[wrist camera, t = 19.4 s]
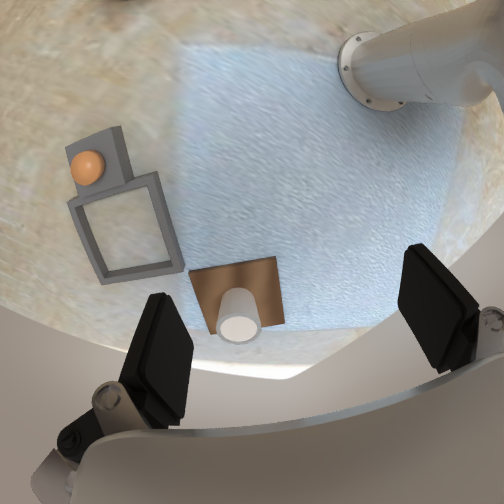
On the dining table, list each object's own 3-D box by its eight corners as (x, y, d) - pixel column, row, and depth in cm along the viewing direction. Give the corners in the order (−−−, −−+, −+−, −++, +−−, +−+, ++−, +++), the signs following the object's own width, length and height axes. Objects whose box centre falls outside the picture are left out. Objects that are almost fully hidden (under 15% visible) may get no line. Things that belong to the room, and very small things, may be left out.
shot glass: (266, 302, 46) (271, 330, 40) (236, 321, 48) (236, 350, 42) (240, 277, 44) (240, 305, 38) (209, 299, 46) (206, 328, 39)
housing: (144, 117, 32) (135, 118, 29) (185, 264, 43) (181, 276, 40) (59, 151, 32) (47, 156, 29) (106, 278, 43) (98, 289, 40)
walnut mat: (275, 256, 43) (276, 258, 42) (284, 320, 50) (285, 323, 49) (189, 270, 44) (188, 273, 43) (210, 331, 50) (210, 334, 50)
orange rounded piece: (107, 142, 31) (92, 147, 27) (115, 172, 33) (101, 180, 29) (82, 152, 31) (67, 158, 27) (90, 180, 33) (76, 189, 30)
